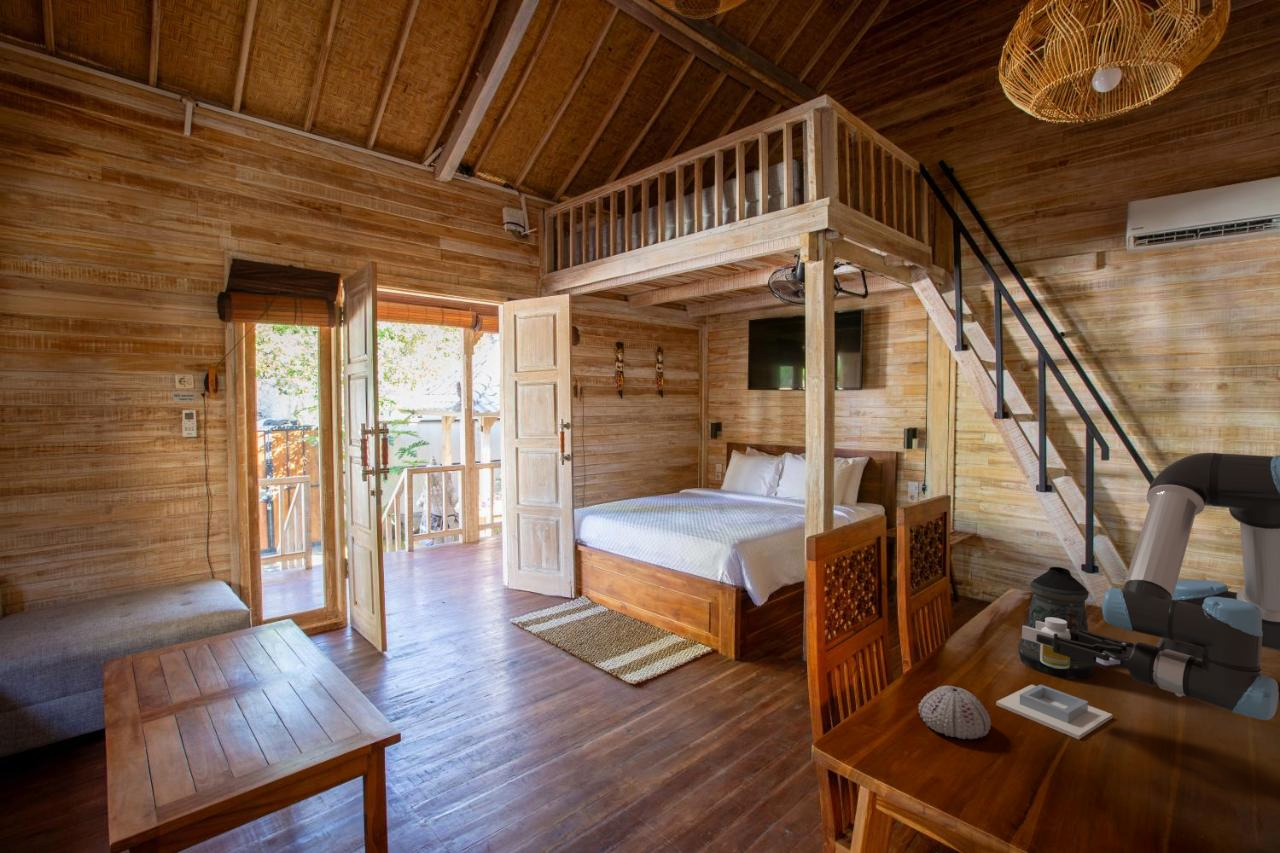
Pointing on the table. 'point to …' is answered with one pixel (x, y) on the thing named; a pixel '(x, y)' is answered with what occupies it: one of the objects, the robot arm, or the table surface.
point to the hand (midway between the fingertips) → (1029, 629)
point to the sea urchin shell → (955, 713)
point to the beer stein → (1057, 600)
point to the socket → (1055, 710)
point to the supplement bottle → (1047, 652)
